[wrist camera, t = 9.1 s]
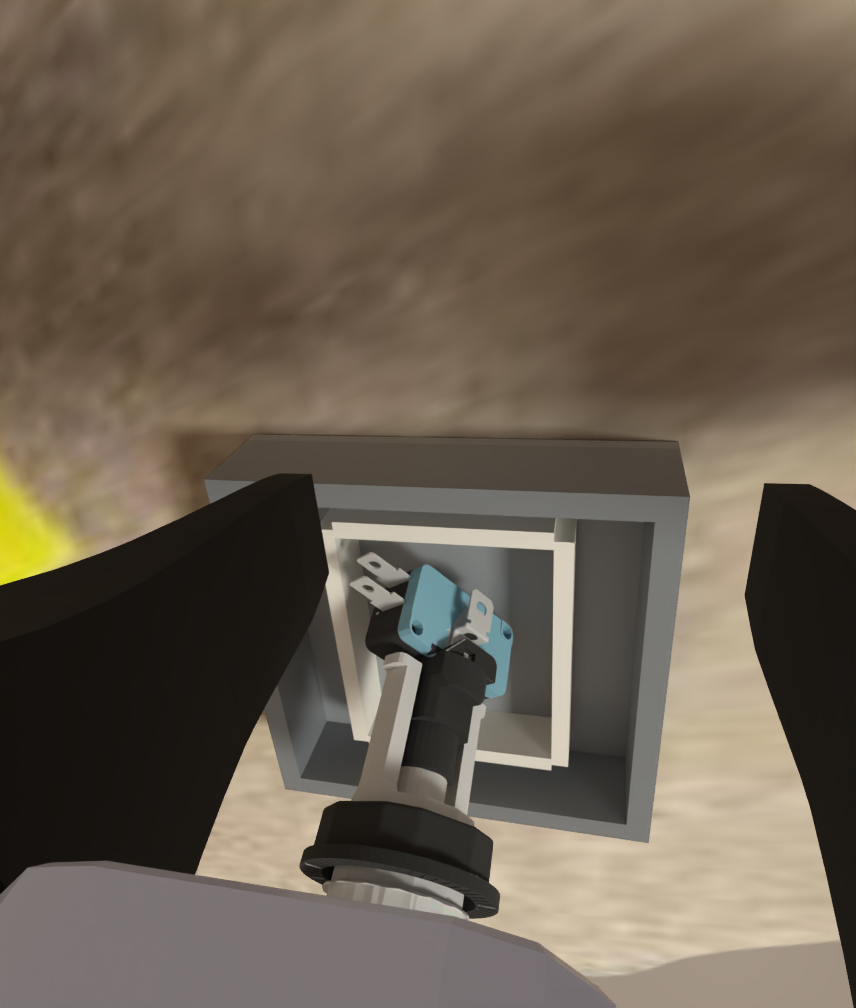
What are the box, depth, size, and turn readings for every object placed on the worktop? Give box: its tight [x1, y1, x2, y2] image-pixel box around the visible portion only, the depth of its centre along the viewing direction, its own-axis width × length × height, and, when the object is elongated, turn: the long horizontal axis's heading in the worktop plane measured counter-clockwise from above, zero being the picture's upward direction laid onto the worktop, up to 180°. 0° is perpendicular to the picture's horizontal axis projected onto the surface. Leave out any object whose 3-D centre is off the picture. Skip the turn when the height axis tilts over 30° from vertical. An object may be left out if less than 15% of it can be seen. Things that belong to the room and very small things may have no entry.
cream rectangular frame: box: [320, 508, 577, 770], centre depth 24 cm, size 8×10×2 cm
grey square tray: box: [204, 434, 690, 843], centre depth 24 cm, size 14×14×4 cm
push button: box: [300, 552, 513, 921], centre depth 20 cm, size 7×5×10 cm
